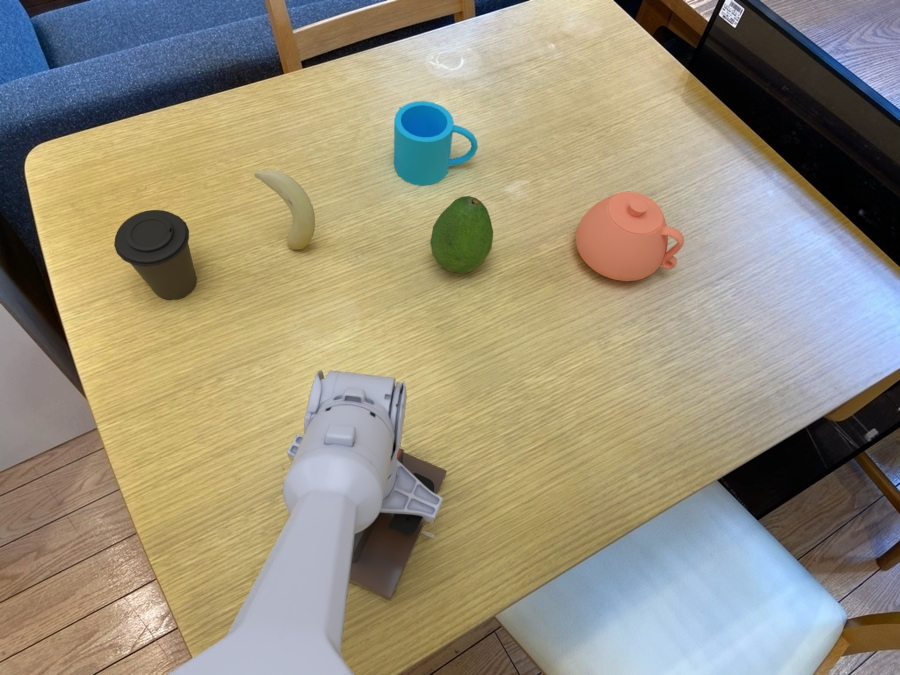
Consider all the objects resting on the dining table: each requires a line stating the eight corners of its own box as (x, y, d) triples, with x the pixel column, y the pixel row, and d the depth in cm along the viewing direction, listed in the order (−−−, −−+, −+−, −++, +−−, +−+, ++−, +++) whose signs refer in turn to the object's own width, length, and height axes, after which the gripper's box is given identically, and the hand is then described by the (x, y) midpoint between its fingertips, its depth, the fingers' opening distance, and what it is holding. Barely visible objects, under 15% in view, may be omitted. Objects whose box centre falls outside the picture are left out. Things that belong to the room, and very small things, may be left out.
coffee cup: (219, 289, 79) (199, 239, 70) (157, 320, 76) (128, 271, 67) (190, 247, 82) (167, 193, 73) (129, 275, 79) (98, 222, 70)
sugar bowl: (590, 208, 91) (611, 155, 83) (680, 248, 89) (712, 198, 80) (557, 265, 85) (576, 215, 77) (652, 310, 83) (684, 263, 74)
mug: (393, 184, 90) (393, 140, 83) (394, 144, 95) (395, 99, 88) (475, 187, 92) (482, 144, 84) (473, 148, 96) (480, 104, 89)
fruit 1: (320, 258, 81) (330, 245, 82) (291, 177, 72) (303, 165, 74) (283, 252, 83) (294, 240, 84) (250, 172, 74) (263, 160, 76)
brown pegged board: (402, 614, 62) (403, 611, 60) (266, 550, 64) (263, 545, 62) (460, 477, 69) (462, 471, 67) (337, 423, 71) (336, 416, 69)
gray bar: (356, 564, 62) (353, 552, 57) (328, 551, 62) (324, 539, 58) (403, 466, 67) (404, 448, 63) (377, 454, 68) (377, 437, 63)
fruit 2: (481, 291, 82) (495, 232, 72) (422, 279, 82) (428, 218, 72) (491, 246, 86) (505, 183, 76) (435, 234, 86) (442, 170, 76)
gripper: (461, 450, 53) (447, 496, 65) (308, 385, 55) (322, 441, 66) (427, 528, 49) (419, 561, 61) (265, 455, 51) (288, 501, 63)
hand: (367, 503), depth 64 cm, fingers open, 7 cm apart
